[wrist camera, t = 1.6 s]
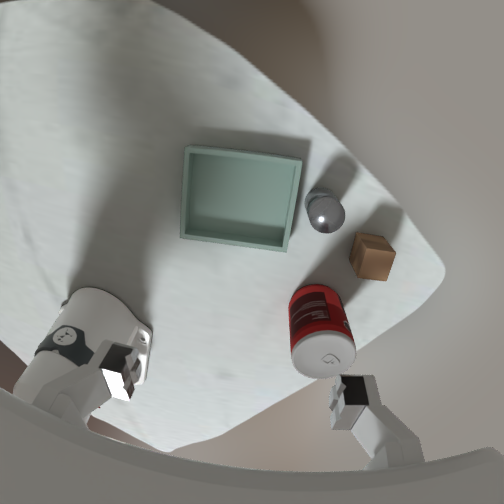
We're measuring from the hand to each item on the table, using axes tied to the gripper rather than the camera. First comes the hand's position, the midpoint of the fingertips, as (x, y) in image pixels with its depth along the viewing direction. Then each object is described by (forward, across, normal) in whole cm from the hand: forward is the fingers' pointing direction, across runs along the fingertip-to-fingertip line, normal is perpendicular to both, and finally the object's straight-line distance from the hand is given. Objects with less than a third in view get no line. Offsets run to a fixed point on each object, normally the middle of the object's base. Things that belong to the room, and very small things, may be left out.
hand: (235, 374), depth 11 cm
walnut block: (+29, -14, +6) cm, 33 cm away
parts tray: (+28, +3, +1) cm, 28 cm away
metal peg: (+28, -7, +1) cm, 29 cm away
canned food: (+28, -9, +16) cm, 34 cm away
